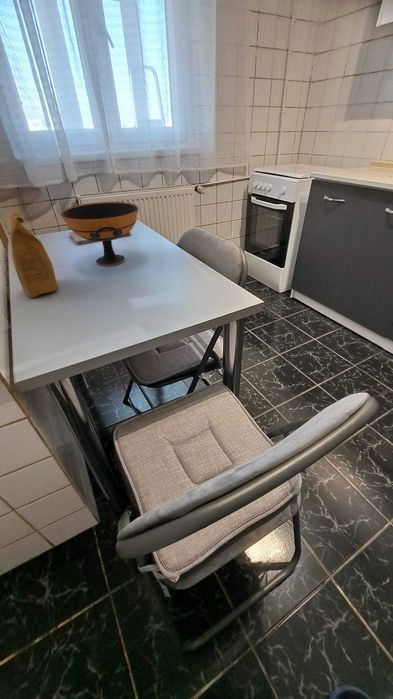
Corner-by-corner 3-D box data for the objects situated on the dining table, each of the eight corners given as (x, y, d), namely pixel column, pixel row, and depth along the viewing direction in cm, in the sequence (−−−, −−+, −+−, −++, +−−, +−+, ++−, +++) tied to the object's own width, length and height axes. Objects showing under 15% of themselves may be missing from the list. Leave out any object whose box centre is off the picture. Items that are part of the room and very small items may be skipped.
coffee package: (56, 278, 97) (32, 206, 84) (61, 292, 89) (35, 214, 75) (23, 285, 94) (-8, 210, 80) (25, 301, 85) (-8, 220, 72)
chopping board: (77, 244, 126) (76, 241, 125) (69, 235, 137) (68, 232, 136) (130, 235, 135) (130, 231, 134) (119, 227, 146) (118, 224, 145)
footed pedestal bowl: (74, 250, 120) (61, 203, 109) (136, 242, 126) (130, 197, 116) (75, 285, 93) (58, 227, 82) (154, 273, 99) (148, 217, 88)
